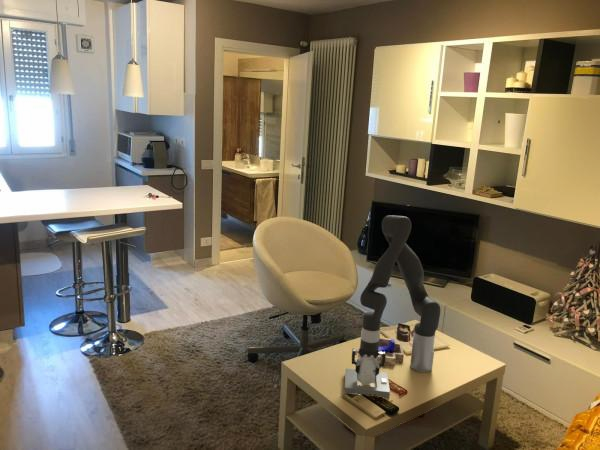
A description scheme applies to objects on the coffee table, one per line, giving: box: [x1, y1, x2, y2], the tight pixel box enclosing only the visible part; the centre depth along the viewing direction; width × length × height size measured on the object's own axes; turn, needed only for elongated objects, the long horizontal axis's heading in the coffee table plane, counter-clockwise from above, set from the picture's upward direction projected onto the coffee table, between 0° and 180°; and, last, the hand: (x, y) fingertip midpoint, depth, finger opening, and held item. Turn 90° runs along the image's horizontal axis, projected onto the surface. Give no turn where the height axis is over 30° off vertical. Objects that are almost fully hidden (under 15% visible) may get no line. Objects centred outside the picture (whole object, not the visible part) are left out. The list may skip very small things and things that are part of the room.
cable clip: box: [378, 338, 396, 355], centre depth 238 cm, size 12×4×6 cm, turn 84°
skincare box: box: [358, 355, 377, 385], centre depth 207 cm, size 6×4×12 cm
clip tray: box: [377, 337, 405, 366], centre depth 236 cm, size 19×19×4 cm
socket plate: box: [344, 368, 391, 399], centre depth 209 cm, size 18×15×4 cm
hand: (366, 373), depth 208 cm, fingers closed on skincare box, 7 cm apart
